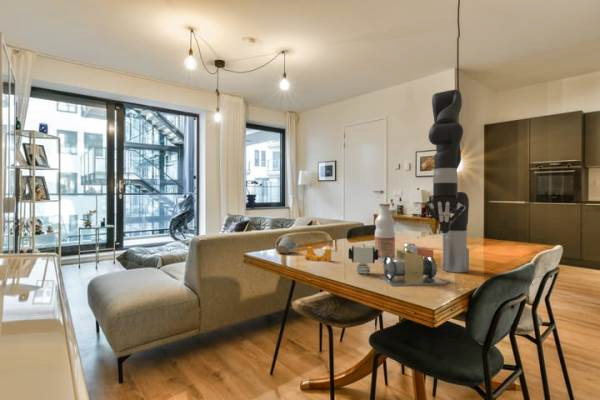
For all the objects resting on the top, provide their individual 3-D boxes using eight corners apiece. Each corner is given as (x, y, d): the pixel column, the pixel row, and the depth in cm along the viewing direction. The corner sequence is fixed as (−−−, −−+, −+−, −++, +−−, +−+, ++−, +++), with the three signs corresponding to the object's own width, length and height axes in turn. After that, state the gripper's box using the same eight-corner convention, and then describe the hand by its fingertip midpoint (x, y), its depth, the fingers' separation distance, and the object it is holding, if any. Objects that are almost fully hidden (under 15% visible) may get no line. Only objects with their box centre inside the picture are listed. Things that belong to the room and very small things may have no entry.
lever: (412, 249, 121) (412, 243, 121) (435, 257, 104) (435, 249, 104) (402, 249, 120) (402, 243, 120) (424, 257, 104) (424, 250, 104)
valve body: (427, 275, 125) (427, 248, 125) (446, 284, 112) (446, 253, 112) (378, 277, 122) (379, 249, 122) (392, 286, 110) (392, 255, 109)
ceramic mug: (281, 257, 171) (273, 247, 170) (288, 248, 177) (280, 237, 176) (294, 253, 164) (285, 242, 163) (301, 243, 170) (292, 232, 169)
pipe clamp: (305, 261, 154) (305, 248, 154) (309, 259, 158) (309, 247, 158) (327, 263, 148) (327, 250, 148) (331, 262, 152) (331, 248, 152)
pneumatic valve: (378, 275, 125) (378, 245, 125) (348, 273, 128) (348, 244, 128) (377, 272, 131) (377, 243, 131) (349, 270, 133) (349, 242, 133)
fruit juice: (370, 261, 154) (370, 203, 154) (383, 259, 159) (383, 203, 159) (385, 264, 146) (386, 204, 146) (398, 262, 152) (398, 204, 152)
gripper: (469, 182, 107) (468, 233, 106) (428, 183, 115) (428, 230, 115) (464, 181, 101) (463, 235, 101) (421, 182, 109) (421, 232, 109)
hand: (444, 232), depth 108 cm, fingers closed
